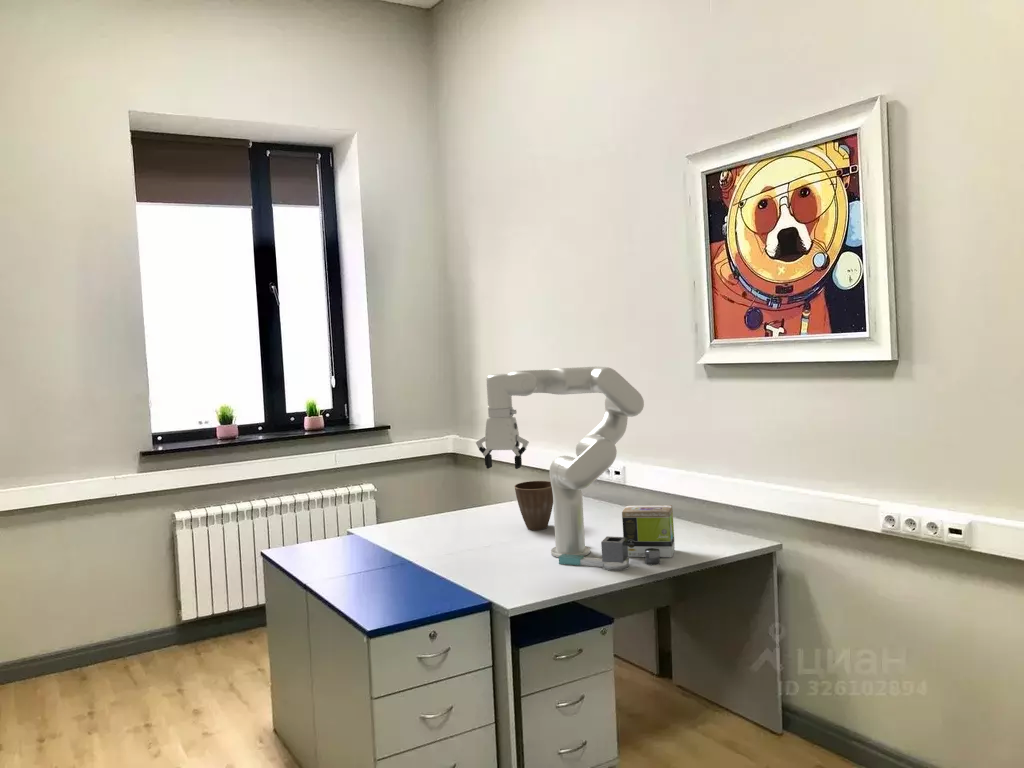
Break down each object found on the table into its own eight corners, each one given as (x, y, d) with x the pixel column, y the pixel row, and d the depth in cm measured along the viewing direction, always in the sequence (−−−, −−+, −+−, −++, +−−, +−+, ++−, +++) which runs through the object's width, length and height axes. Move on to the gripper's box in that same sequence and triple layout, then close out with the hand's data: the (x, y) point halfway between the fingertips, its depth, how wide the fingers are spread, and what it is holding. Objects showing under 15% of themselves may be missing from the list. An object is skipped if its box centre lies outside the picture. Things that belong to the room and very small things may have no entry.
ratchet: (632, 564, 255) (631, 545, 254) (624, 571, 247) (623, 552, 247) (565, 558, 264) (564, 540, 264) (556, 566, 257) (555, 547, 257)
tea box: (675, 549, 268) (673, 504, 267) (672, 558, 258) (670, 511, 257) (628, 548, 272) (626, 504, 271) (623, 557, 263) (621, 511, 261)
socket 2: (647, 560, 258) (646, 547, 257) (661, 561, 256) (660, 548, 256) (644, 564, 254) (643, 551, 253) (658, 565, 252) (657, 552, 252)
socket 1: (607, 555, 257) (606, 536, 256) (628, 556, 254) (627, 537, 254) (602, 561, 251) (601, 541, 250) (623, 562, 249) (622, 542, 248)
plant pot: (558, 531, 299) (555, 487, 298) (516, 534, 299) (514, 489, 298) (556, 522, 314) (554, 479, 312) (517, 524, 314) (514, 482, 313)
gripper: (530, 411, 260) (533, 466, 261) (479, 412, 266) (482, 465, 268) (522, 414, 253) (525, 470, 254) (470, 415, 259) (473, 469, 261)
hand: (503, 468), depth 261 cm, fingers open, 9 cm apart
